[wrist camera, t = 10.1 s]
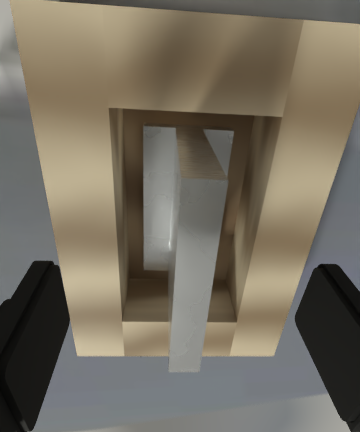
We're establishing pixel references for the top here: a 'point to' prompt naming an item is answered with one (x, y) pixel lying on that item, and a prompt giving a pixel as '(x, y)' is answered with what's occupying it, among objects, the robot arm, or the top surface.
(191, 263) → the t bracket
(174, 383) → the top surface
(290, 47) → the well block
